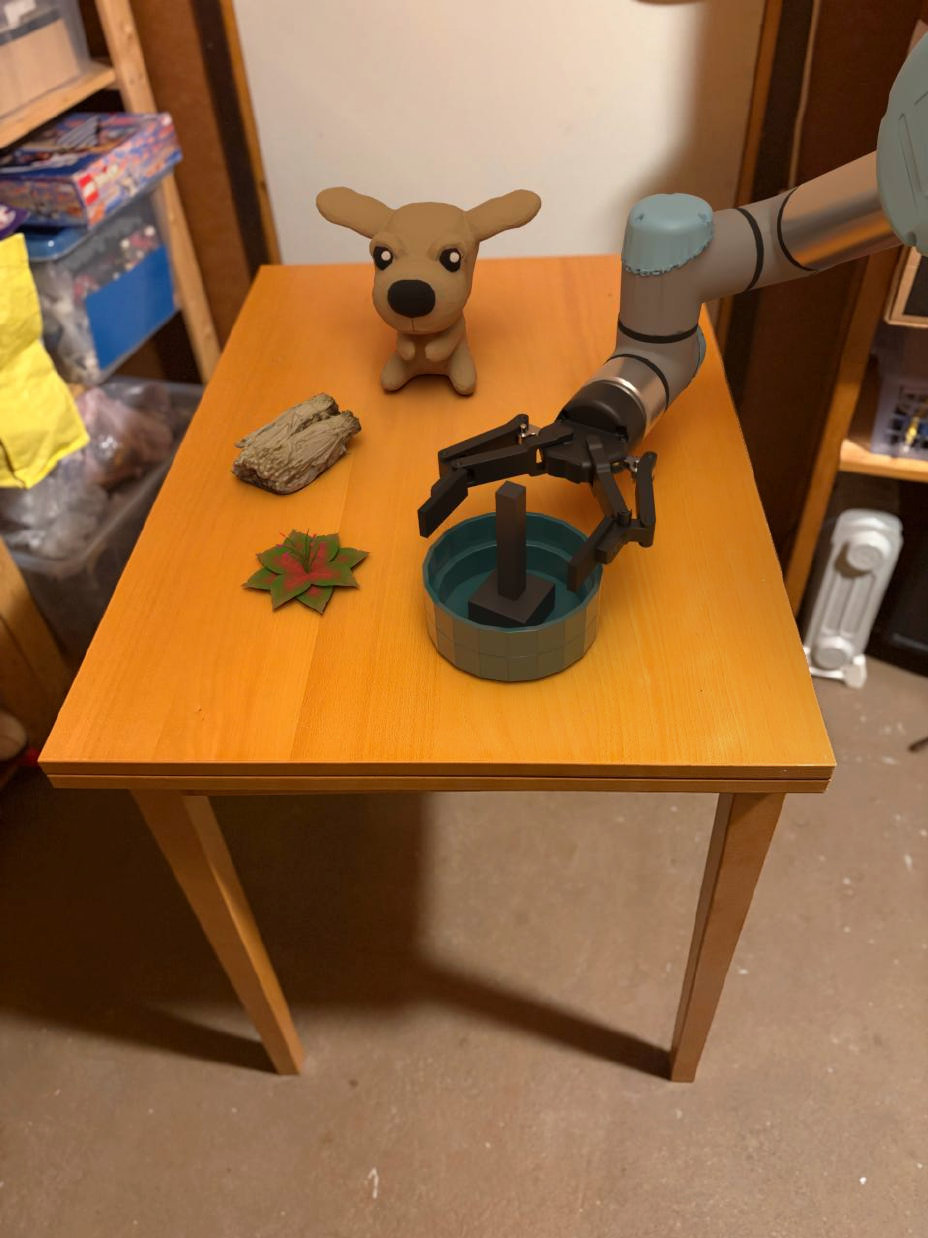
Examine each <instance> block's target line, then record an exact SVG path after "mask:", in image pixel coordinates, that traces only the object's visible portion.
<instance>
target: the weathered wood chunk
mask: <svg viewBox="0 0 928 1238" xmlns="http://www.w3.org/2000/svg"><path fill="white" fill-rule="evenodd" d="M339 408H340V405H339V403H337V402H336V399H335V398H334V397H333V396H331V395H329V394H328V393H327V394H326V393H325V392H320V393H317V394H316V395H313V396H310V397H309V398H308V399H307V400H304V401H303V402H300V403H294V405H293V406H291V407H289V408H288V409H286V410H285V411H283V412H281V413H280V414H278V415H277V416H276V418H274V419H273V420H272V421H270V422H268V423H266V424H264V425H262V426H261V427H259V428H257V429H256V430H254V431H252V432H250V433H249V434H247V435H245V436H244V437H243V438H242V439H241V440H238V441H236V442H233V445H234V447H235V448H237V449H241V450H240V452H239V454H238V455H237V457H236V459H234V460H233V463H232V467H233V468H231V469H230V472H231V473H232V474H233V475H235V476H236V478H238V479H240V480H241V481H243V482H245V483H247V484H251V485H252V486H255V487H258V488H261V489H263V490H266V491H268V492H272V493H275V494H281V495H282V494H284V495H285V494H290V493H293V492H295V491H297V490H300V489H302V488H304V487H306V486H307V485H309V484H310V483H312V482H313V481H314V480H315V478H316V477H317V476H318V475H319V474H320V473H321V472H325V471H327V470H328V469H329V468H330V467H332V466H333V465H334V464H336V463H337V461H339V460H340V458H341V456H342V455H343V454H344V453H346V454H347V455H352V452H349V451H348V450H347V449H346V444H347V443H349V442H350V440H351V439H352V438H353V437H354V436H356V435H358V434H359V433H360V432H362V428H363V427H362V425H361V422H360V418H359V417H357V416H355V415H354V412H353V411H351V410H349V409H346V410H342V411H340V410H339Z"/></svg>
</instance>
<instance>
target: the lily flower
mask: <svg viewBox="0 0 928 1238" xmlns="http://www.w3.org/2000/svg"><path fill="white" fill-rule="evenodd" d="M309 531H310V528H307V531H306V533H304V532H302V531H297V529H294V528H292V529H291V531H290V533H289V534H288V536H287V535H285V534H283V533H282V532H279V535H281V536H282V537H284V538H285V539H284V540H283V542H282V544H280V543H276V544H275V546H273V547H271V548H268V549H265V550H264V551H262V552H258V553H255V554H254V555H255V556H256V557H257V558H258V559H259V561H260V562H261V563H262V564H263V565H264V567H262V568H259V569H258V570H256V571H255V572H254V573H253V574H252V575H250V577H249V578H248V579H247V580H246V582H245V583H243V584H241V585H240V586H239V587H245V588H254V589H259V590H260V589H261V590H269V591H270V597H271V602H272V606H271V611H274V610H275V609H276V608H278V607H279V606H282V605H283V604H284V603H285V602H288V601H290V600H291V599H292V598H294V597H295V598H296V599H297V600H298V601H300V602H302V603H303V604H304V605H306V606H307V607H310V608H312V609H315V610H317V612H318V613H319V614H321V615H322V614H323V610H324V609H325V607H326V603H328V601H329V599H330V597H331V595H332V593H333V586H344V587H350V586H351V587H356V588H361V585H360V584H358V581H357V579H356V577H355V576H353V575H354V573H353V571H352V570H351V569H352V568H353V567H354V566H355V565H357V564H358V563H359V562H361V561H362V560H363V559H365V557H366V556H368V555H369V554H370V555H371V554H372V551H365V550H362V549H360V550H358V549H357V548H353V547H350V546H349V547H345V546H343V547H340V537H339V534H340V532H336V533H329V534H326V535H325V534H322V535H321V534H320V535H318V533H313V535H312V536H311V535H310V534H309V533H310V532H309Z"/></svg>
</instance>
